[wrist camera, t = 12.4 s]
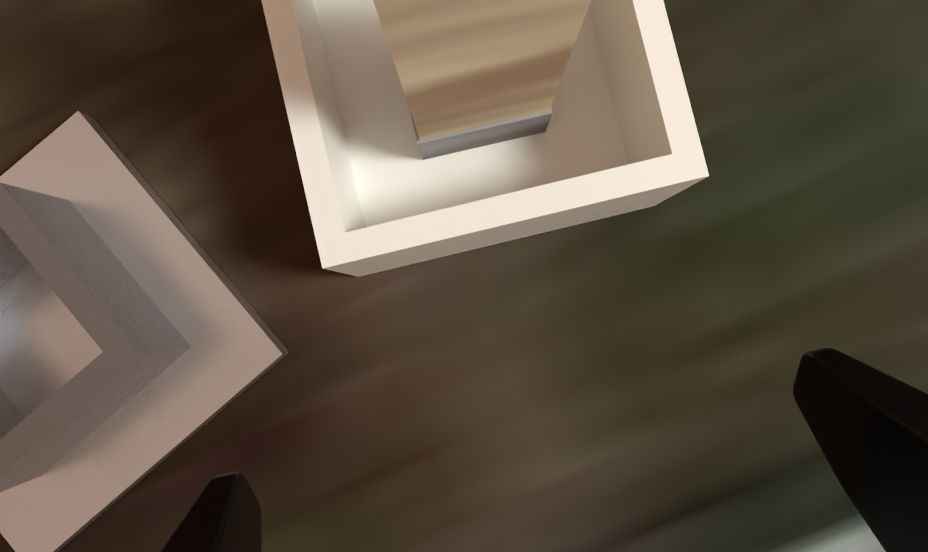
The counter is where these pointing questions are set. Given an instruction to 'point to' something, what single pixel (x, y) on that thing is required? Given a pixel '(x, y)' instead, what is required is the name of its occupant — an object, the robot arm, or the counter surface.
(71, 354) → the socket base
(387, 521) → the counter surface
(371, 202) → the bin
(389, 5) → the strut
